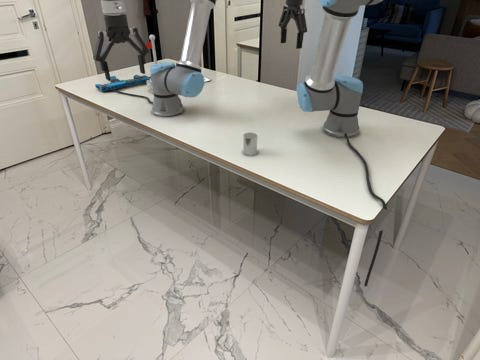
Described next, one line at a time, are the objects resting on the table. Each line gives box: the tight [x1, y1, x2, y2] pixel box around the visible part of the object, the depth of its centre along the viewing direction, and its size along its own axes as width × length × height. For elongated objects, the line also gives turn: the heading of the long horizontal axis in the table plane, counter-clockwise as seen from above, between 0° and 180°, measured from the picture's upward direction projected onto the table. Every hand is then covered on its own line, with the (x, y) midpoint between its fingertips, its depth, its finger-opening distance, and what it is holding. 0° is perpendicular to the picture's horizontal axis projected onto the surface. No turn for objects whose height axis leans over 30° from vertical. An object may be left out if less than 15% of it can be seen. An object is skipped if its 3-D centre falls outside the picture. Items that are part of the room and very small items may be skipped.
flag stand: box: [145, 34, 158, 94], centre depth 188 cm, size 13×13×30 cm
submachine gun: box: [94, 74, 151, 92], centre depth 206 cm, size 34×4×25 cm
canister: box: [242, 132, 258, 157], centre depth 131 cm, size 5×5×7 cm
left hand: (126, 76), depth 127 cm, fingers open, 13 cm apart
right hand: (290, 45), depth 161 cm, fingers open, 13 cm apart
